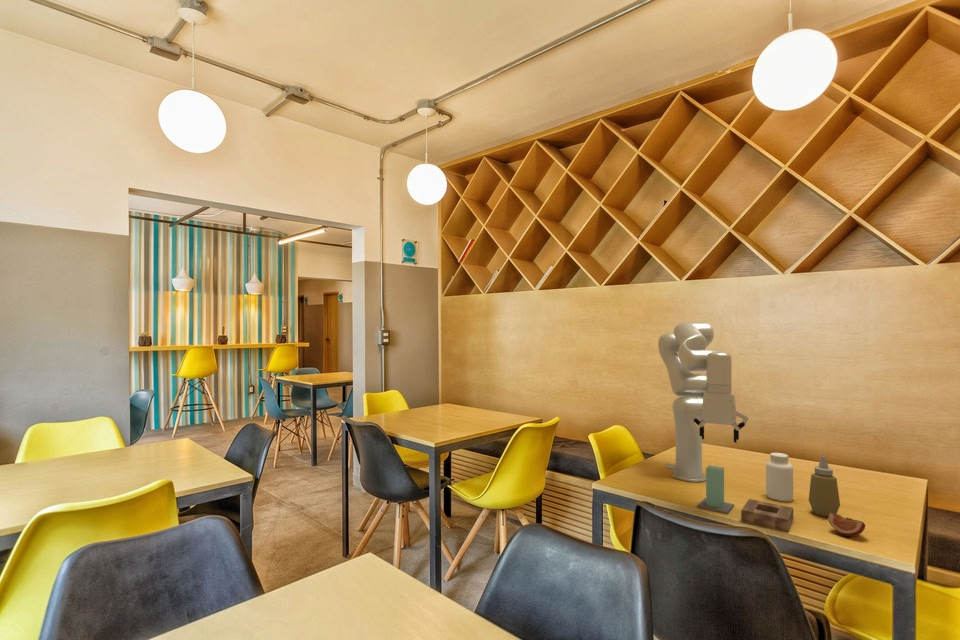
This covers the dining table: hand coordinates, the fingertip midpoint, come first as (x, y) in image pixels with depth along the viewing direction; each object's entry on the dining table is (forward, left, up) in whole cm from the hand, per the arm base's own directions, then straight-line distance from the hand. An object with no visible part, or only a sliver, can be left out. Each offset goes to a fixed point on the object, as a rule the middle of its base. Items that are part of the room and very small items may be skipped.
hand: (718, 440), depth 158 cm
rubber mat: (0, -4, -21) cm, 22 cm away
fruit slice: (+34, -3, -22) cm, 40 cm away
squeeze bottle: (+28, +11, -21) cm, 37 cm away
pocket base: (+15, -6, -21) cm, 26 cm away
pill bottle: (+15, +19, -21) cm, 32 cm away
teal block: (0, -4, -21) cm, 21 cm away
